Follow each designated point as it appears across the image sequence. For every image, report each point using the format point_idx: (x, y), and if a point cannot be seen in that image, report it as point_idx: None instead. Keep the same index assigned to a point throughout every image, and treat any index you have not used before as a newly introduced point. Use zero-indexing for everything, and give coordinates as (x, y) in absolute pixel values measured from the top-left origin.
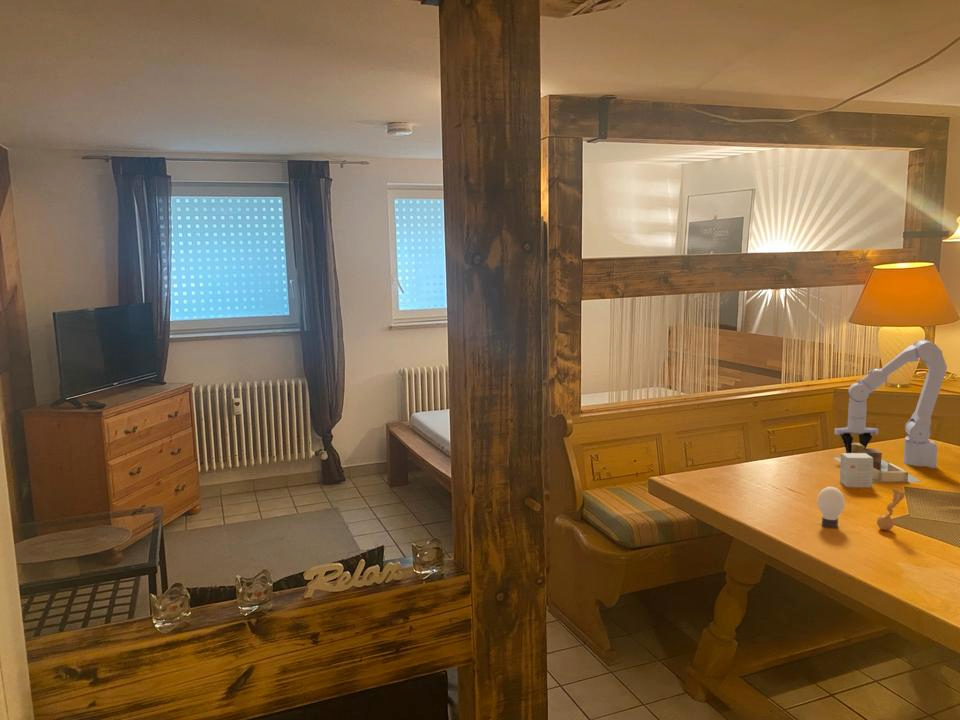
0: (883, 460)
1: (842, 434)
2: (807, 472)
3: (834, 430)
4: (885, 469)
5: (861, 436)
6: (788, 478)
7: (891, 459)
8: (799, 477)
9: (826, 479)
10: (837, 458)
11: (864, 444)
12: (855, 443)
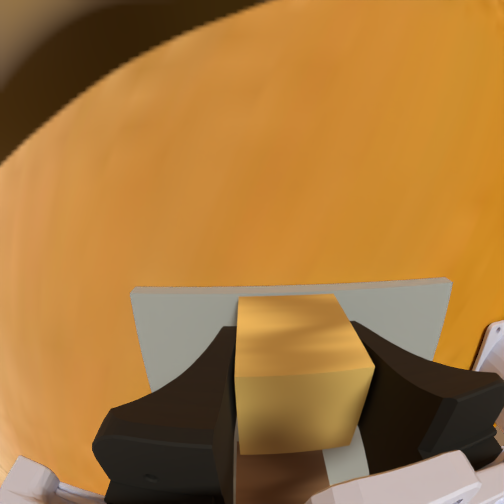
0: (434, 348)
1: (119, 491)
2: (29, 430)
3: (4, 486)
4: (332, 469)
5: (404, 451)
6: (4, 446)
7: (496, 271)
8: (22, 451)
9: (85, 483)
10: (155, 314)
11: (364, 438)
12: (316, 391)
